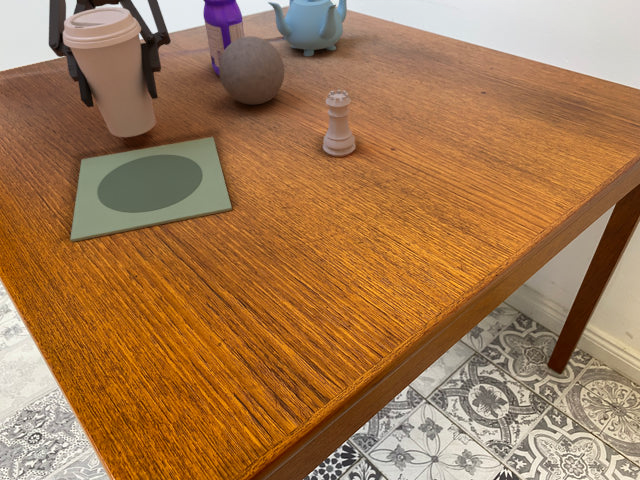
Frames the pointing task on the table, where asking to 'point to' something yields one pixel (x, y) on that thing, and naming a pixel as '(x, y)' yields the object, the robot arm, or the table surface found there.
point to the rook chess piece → (338, 126)
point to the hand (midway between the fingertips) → (120, 98)
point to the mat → (148, 188)
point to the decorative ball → (251, 70)
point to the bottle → (222, 27)
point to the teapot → (311, 24)
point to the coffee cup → (112, 67)
